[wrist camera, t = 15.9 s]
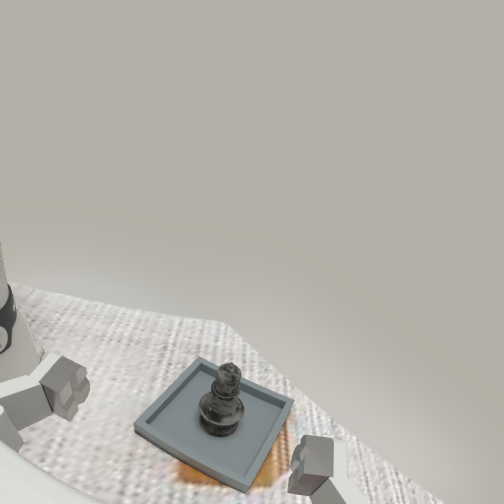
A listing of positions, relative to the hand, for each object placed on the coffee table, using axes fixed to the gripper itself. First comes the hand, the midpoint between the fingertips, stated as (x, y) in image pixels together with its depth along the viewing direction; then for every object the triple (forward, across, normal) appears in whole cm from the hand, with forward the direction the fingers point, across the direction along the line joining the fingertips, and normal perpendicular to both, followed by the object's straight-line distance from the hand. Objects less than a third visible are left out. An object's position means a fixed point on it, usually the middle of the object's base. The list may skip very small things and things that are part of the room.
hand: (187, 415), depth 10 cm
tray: (+19, 0, -28) cm, 34 cm away
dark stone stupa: (+19, 0, -28) cm, 34 cm away
